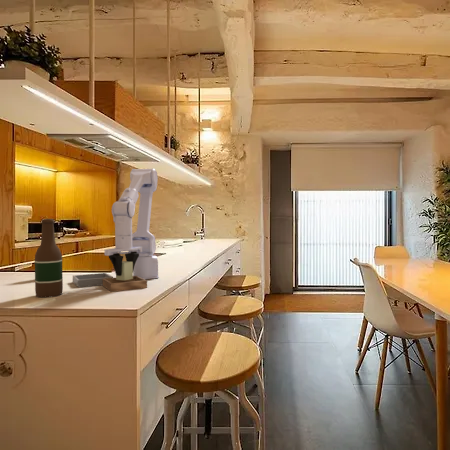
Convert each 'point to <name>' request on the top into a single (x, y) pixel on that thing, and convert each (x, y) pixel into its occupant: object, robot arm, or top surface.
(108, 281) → the walnut bin
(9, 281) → the top surface
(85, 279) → the grey bin
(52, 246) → the beer bottle
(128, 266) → the sage block
